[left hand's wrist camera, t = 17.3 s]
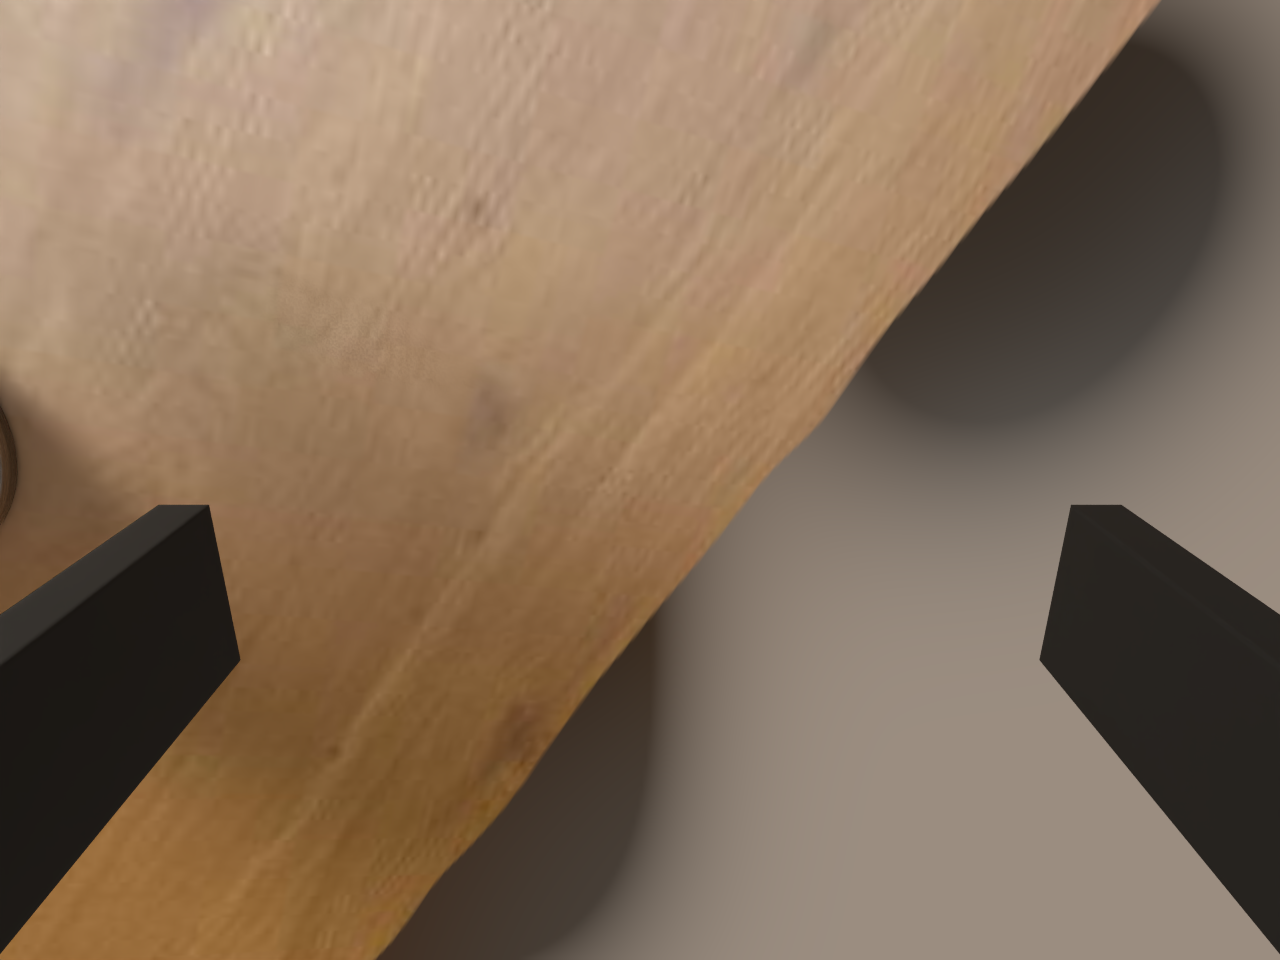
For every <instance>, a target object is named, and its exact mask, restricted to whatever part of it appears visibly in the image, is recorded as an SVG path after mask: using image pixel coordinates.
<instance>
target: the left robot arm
mask: <svg viewBox="0 0 1280 960" xmlns="http://www.w3.org/2000/svg"><path fill="white" fill-rule="evenodd" d="M16 481H17V460H16V452H15V446H14V442H13V438H12V434H11V431H10V428H9V425H8V422H7V420H6V418H5V416H4V413H3V411H2V409H1V407H0V525H1V523H2V522H3V520H4V519H5V517H6V515H7V513H8V511H9V509H10V506H11V503H12V501H13V498H14V493H15V488H16ZM239 661H240V655H239V650H238V645H237V640H236V636H235V631H234V626H233V621H232V616H231V611H230V606H229V601H228V596H227V591H226V586H225V581H224V577H223V572H222V567H221V562H220V557H219V552H218V547H217V542H216V537H215V532H214V527H213V523H212V518H211V513H210V508H209V505H158V506H156V507H155V508H153V509H152V510H151V511H149V512H148V513H146V514H145V515H143V516H142V517H140V518H139V519H138V520H136V521H135V522H133V523H132V524H130V525H129V526H127V527H126V528H125V529H123V530H122V531H120V532H119V533H117V534H116V535H114V536H113V537H112V538H110V539H109V540H107V541H106V542H104V543H103V544H101V545H100V546H99V547H97V548H96V549H94V550H93V551H91V552H90V553H88V554H87V555H86V556H84V557H83V558H81V559H80V560H78V561H77V562H76V563H74V564H73V565H71V566H70V567H68V568H67V569H65V570H64V571H63V572H61V573H60V574H58V575H57V576H55V577H54V578H52V579H51V580H50V581H48V582H47V583H45V584H44V585H42V586H41V587H39V588H38V589H37V590H35V591H34V592H32V593H31V594H29V595H28V596H26V597H25V598H24V599H22V600H21V601H19V602H18V603H16V604H15V605H13V606H12V607H11V608H9V609H8V610H6V611H5V612H3V613H2V614H0V954H1V952H2V951H3V950H4V949H5V947H6V946H7V945H8V944H9V943H10V941H11V940H12V939H13V938H14V936H15V935H16V934H17V933H18V932H19V930H20V929H21V928H22V927H23V925H24V924H25V923H26V922H27V921H28V919H29V918H30V917H31V916H32V914H33V913H34V912H35V911H36V910H37V908H38V907H39V906H40V905H41V903H42V902H43V901H44V900H45V899H46V897H47V896H48V895H49V894H50V892H51V891H52V890H53V889H54V888H55V886H56V885H57V884H58V883H59V881H60V880H61V879H62V878H63V876H64V875H65V874H66V873H67V872H68V870H69V869H70V868H71V867H72V865H73V864H74V863H75V862H76V861H77V859H78V858H79V857H80V856H81V854H82V853H83V852H84V851H85V850H86V848H87V847H88V846H89V845H90V843H91V842H92V841H93V840H94V839H95V837H96V836H97V835H98V834H99V832H100V831H101V830H102V829H103V828H104V826H105V825H106V824H107V823H108V821H109V820H110V819H111V818H112V817H113V815H114V814H115V813H116V812H117V810H118V809H119V808H120V807H121V806H122V804H123V803H124V802H125V801H126V799H127V798H128V797H129V796H130V795H131V793H132V792H133V791H134V790H135V788H136V787H137V786H138V785H139V784H140V782H141V781H142V780H143V779H144V777H145V776H146V775H147V774H148V773H149V771H150V770H151V769H152V768H153V766H154V765H155V764H156V763H157V762H158V760H159V759H160V758H161V757H162V755H163V754H164V753H165V752H166V751H167V749H168V748H169V747H170V746H171V744H172V743H173V742H174V741H175V739H176V738H177V737H178V736H179V735H180V733H181V732H182V731H183V730H184V728H185V727H186V726H187V725H188V724H189V722H190V721H191V720H192V719H193V717H194V716H195V715H196V714H197V713H198V711H199V710H200V709H201V708H202V706H203V705H204V704H205V703H206V702H207V700H208V699H209V698H210V697H211V695H212V694H213V693H214V692H215V691H216V689H217V688H218V687H219V686H220V684H221V683H222V682H223V681H224V680H225V678H226V677H227V676H228V675H229V673H230V672H231V671H232V670H233V669H234V667H235V666H236V665H237V664H238V662H239ZM1040 661H1041V662H1042V664H1043V665H1044V666H1045V667H1046V669H1047V670H1048V671H1049V672H1050V673H1051V675H1052V676H1053V677H1054V678H1055V680H1056V681H1057V682H1058V683H1059V684H1060V686H1061V687H1062V688H1063V689H1064V691H1065V692H1066V693H1067V694H1068V695H1069V697H1070V698H1071V699H1072V700H1073V702H1074V703H1075V704H1076V705H1077V706H1078V708H1079V709H1080V710H1081V711H1082V713H1083V714H1084V715H1085V716H1086V717H1087V719H1088V720H1089V721H1090V722H1091V724H1092V725H1093V726H1094V727H1095V728H1096V730H1097V731H1098V732H1099V733H1100V735H1101V736H1102V737H1103V738H1104V739H1105V741H1106V742H1107V743H1108V744H1109V746H1110V747H1111V748H1112V749H1113V751H1114V752H1115V753H1116V754H1117V755H1118V757H1119V758H1120V759H1121V760H1122V761H1123V763H1124V764H1125V765H1126V766H1127V768H1128V769H1129V770H1130V771H1131V773H1132V774H1133V775H1134V776H1135V777H1136V779H1137V780H1138V781H1139V782H1140V784H1141V785H1142V786H1143V787H1144V788H1145V790H1146V791H1147V792H1148V793H1149V795H1150V796H1151V797H1152V798H1153V799H1154V801H1155V802H1156V803H1157V804H1158V806H1159V807H1160V808H1161V809H1162V810H1163V812H1164V813H1165V814H1166V815H1167V817H1168V818H1169V819H1170V820H1171V821H1172V823H1173V824H1174V825H1175V826H1176V828H1177V829H1178V830H1179V831H1180V832H1181V834H1182V835H1183V836H1184V837H1185V839H1186V840H1187V841H1188V842H1189V843H1190V845H1191V846H1192V847H1193V848H1194V850H1195V851H1196V852H1197V853H1198V854H1199V856H1200V857H1201V858H1202V859H1203V861H1204V862H1205V863H1206V864H1207V865H1208V867H1209V868H1210V869H1211V870H1212V872H1213V873H1214V874H1215V875H1216V876H1217V878H1218V879H1219V880H1220V881H1221V883H1222V884H1223V885H1224V886H1225V887H1226V889H1227V890H1228V891H1229V892H1230V894H1231V895H1232V896H1233V897H1234V899H1235V900H1236V901H1237V902H1238V903H1239V905H1240V906H1241V907H1242V908H1243V910H1244V911H1245V912H1246V913H1247V914H1248V916H1249V917H1250V918H1251V919H1252V921H1253V922H1254V923H1255V924H1256V925H1257V927H1258V928H1259V929H1260V930H1261V931H1262V933H1263V934H1264V935H1265V936H1266V938H1267V939H1268V940H1269V941H1270V943H1271V944H1272V945H1273V946H1274V947H1275V949H1276V950H1277V951H1278V952H1279V954H1280V614H1278V613H1277V612H1275V611H1274V610H1272V609H1271V608H1269V607H1268V606H1267V605H1265V604H1264V603H1262V602H1261V601H1259V600H1258V599H1256V598H1255V597H1254V596H1252V595H1251V594H1249V593H1248V592H1246V591H1245V590H1243V589H1242V588H1241V587H1239V586H1238V585H1236V584H1235V583H1233V582H1232V581H1230V580H1229V579H1228V578H1226V577H1225V576H1223V575H1222V574H1220V573H1219V572H1217V571H1216V570H1215V569H1213V568H1212V567H1210V566H1209V565H1207V564H1206V563H1204V562H1203V561H1202V560H1200V559H1199V558H1197V557H1196V556H1194V555H1193V554H1191V553H1190V552H1189V551H1187V550H1186V549H1184V548H1183V547H1181V546H1180V545H1179V544H1177V543H1176V542H1174V541H1173V540H1171V539H1170V538H1168V537H1167V536H1166V535H1164V534H1163V533H1161V532H1160V531H1158V530H1157V529H1155V528H1154V527H1153V526H1151V525H1150V524H1148V523H1147V522H1145V521H1144V520H1142V519H1141V518H1139V517H1138V516H1137V515H1135V514H1134V513H1132V512H1131V511H1129V510H1128V509H1127V508H1125V507H1124V506H1122V505H1071V508H1070V513H1069V518H1068V523H1067V527H1066V532H1065V537H1064V542H1063V547H1062V552H1061V557H1060V562H1059V567H1058V572H1057V577H1056V581H1055V586H1054V591H1053V596H1052V601H1051V606H1050V611H1049V616H1048V621H1047V626H1046V631H1045V636H1044V640H1043V645H1042V650H1041V655H1040Z"/></svg>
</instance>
